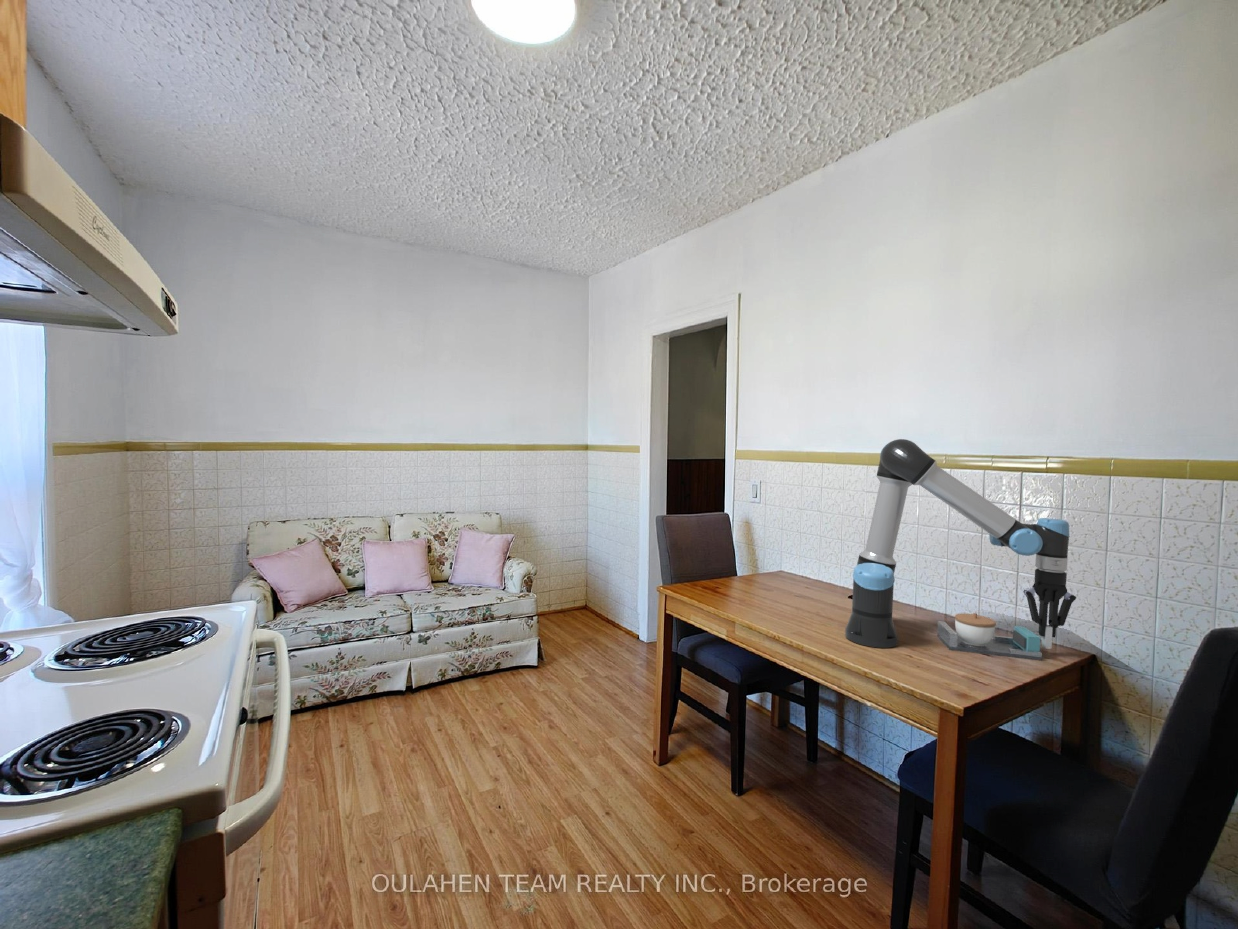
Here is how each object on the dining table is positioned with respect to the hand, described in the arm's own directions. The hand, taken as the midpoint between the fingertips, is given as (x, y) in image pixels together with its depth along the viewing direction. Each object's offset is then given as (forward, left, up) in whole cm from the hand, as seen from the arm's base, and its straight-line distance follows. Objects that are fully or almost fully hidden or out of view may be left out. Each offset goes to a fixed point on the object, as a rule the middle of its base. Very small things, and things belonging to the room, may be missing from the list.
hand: (1046, 647), depth 164 cm
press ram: (-6, 0, -1) cm, 6 cm away
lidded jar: (-19, 0, -1) cm, 19 cm away
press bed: (-16, 0, -2) cm, 16 cm away
